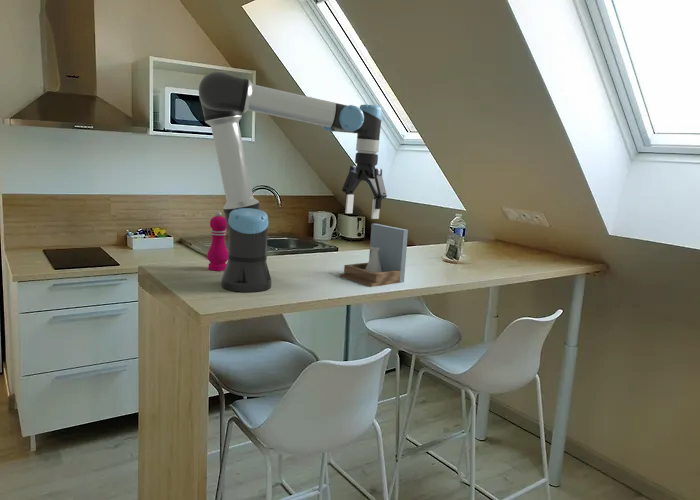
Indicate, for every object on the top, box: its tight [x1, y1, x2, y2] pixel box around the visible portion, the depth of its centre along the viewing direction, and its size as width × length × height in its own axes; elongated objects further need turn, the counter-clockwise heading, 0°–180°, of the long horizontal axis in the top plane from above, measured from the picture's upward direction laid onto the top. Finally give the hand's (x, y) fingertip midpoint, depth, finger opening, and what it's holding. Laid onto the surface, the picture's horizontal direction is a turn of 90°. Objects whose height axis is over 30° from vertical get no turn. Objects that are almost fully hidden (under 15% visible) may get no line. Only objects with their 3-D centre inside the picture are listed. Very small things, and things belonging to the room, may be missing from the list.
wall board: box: [368, 223, 409, 284], centre depth 203 cm, size 2×16×18 cm, turn 41°
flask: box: [365, 247, 382, 273], centre depth 199 cm, size 7×7×10 cm
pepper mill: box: [206, 211, 228, 272], centre depth 199 cm, size 7×7×20 cm
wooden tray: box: [340, 262, 401, 288], centre depth 199 cm, size 13×16×4 cm
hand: (361, 216), depth 197 cm, fingers open, 13 cm apart
